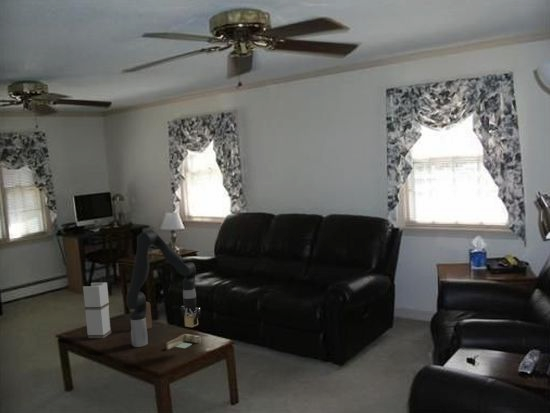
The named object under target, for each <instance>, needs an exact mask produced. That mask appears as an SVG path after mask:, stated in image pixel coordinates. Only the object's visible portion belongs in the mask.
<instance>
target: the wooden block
mask: <svg viewBox="0 0 550 413" xmlns="http://www.w3.org/2000/svg"><path fill="white" fill-rule="evenodd" d="M151 309H152V308H151V303H150V302H149V301H146V326H147V330H150V329H152V328H153V322H152V321H153V320H152V312H151V311H152V310H151Z"/></svg>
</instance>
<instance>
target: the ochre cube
mask: <svg viewBox="0 0 550 413" xmlns="http://www.w3.org/2000/svg"><path fill="white" fill-rule="evenodd" d="M183 317H184V316H183ZM198 319H199V318H197V322H198V323H197V325H194V318H193V316H192V314H189V316H186V317H184V327H188V328H194V327H196V326H198V325H199V320H198Z"/></svg>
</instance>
